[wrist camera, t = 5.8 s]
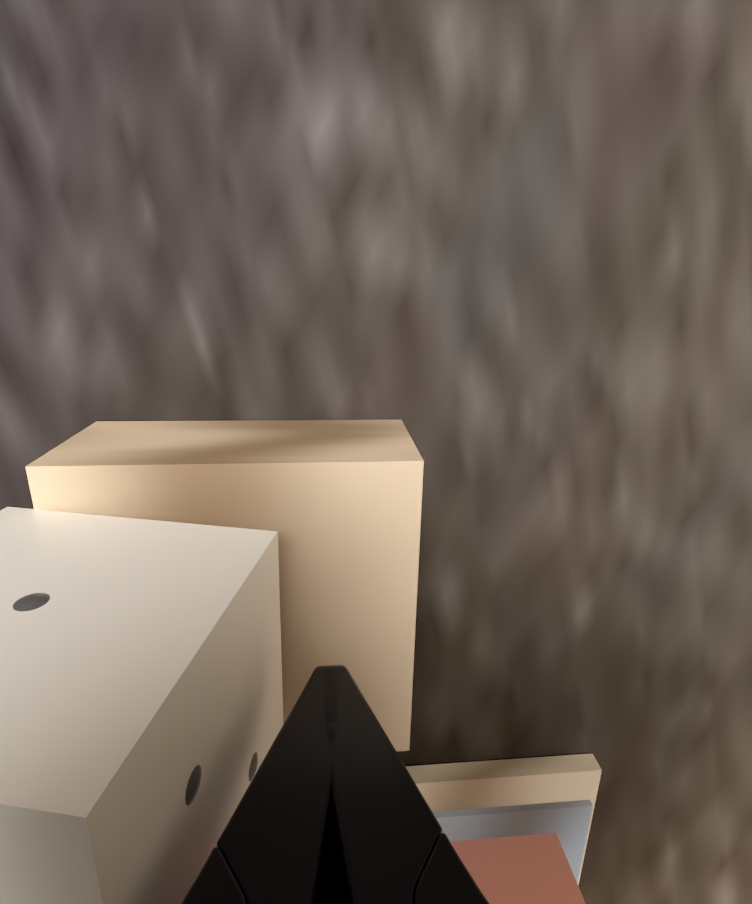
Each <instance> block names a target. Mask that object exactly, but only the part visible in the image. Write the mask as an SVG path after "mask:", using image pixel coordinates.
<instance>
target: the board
mask: <svg viewBox="0 0 752 904" xmlns="http://www.w3.org/2000/svg"><path fill="white" fill-rule="evenodd" d="M405 767H406V769H407V770H408V772H409V774H410V775H411V777H412V779H413V780H414V782H415V784H416V785H417V787H418V789H419V790H420V792H421V794H422V795H423V797H424V799H425V801H426V802H427V804H428V806H429V807H430V809H431V811H432V812H433V814H434V816H435V817H436V819H437V821H438V822H439V824H440V826H441V828H442V833H445V834H446V835H447V837H448V839H449V841H450V842H452V841H464V840H476V839H488V838H500V837H512V836H524V835H536V834H548V833H556V834H557V836H558V839H559V841H560V843H561V846H562V848H563V851H564V853H565V855H566V858H567V860H568V863H569V865H570V867H571V870H572V872H573V875H574V877H575V879H576V882H577V884H578V885H579V880H580V875H581V870H582V865H583V861H584V856H585V851H586V846H587V841H588V836H589V831H590V826H591V821H592V816H593V811H594V806H595V801H596V797H597V792H598V787H599V782H600V777H601V772H602V770H601V768H600V766H599V764H598V762H597V761H596V759H595V757H594V755H593V754H577V755H563V756H548V757H534V758H519V759H505V760H491V761H476V762H462V763H447V764H433V765H419V766H405Z"/></svg>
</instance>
